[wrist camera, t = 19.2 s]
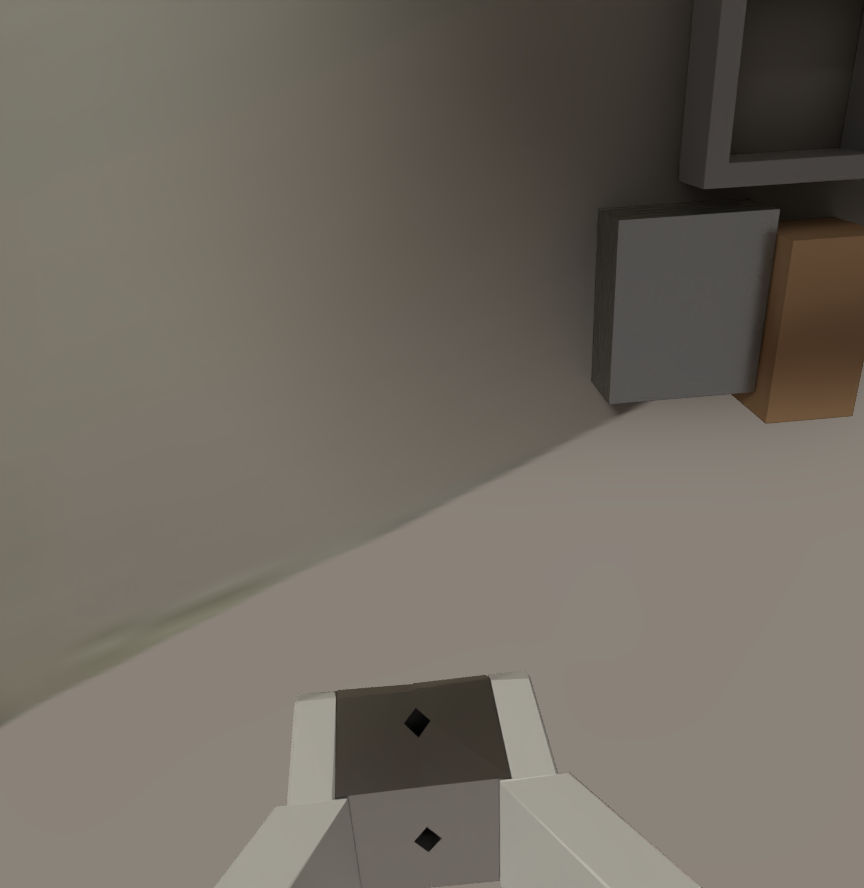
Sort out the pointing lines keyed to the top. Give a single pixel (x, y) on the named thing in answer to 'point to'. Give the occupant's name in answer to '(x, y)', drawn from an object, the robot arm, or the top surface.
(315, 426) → the top surface
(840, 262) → the block
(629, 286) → the steel block
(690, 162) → the socket
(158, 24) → the top surface
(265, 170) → the top surface
